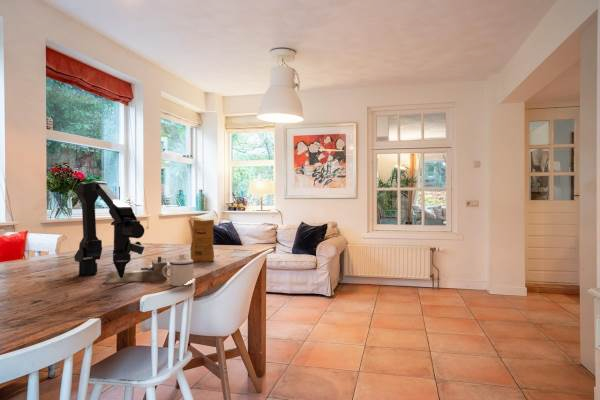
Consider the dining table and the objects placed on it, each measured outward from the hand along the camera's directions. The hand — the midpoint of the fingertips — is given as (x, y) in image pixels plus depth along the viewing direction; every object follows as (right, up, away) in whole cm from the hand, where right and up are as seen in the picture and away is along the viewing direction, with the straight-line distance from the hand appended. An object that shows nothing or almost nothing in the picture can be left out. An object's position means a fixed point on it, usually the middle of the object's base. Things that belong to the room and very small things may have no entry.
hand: (121, 275), depth 157 cm
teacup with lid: (+24, -3, -4) cm, 25 cm away
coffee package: (+20, -2, +52) cm, 55 cm away
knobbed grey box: (+11, -2, +5) cm, 12 cm away
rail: (+2, -2, +1) cm, 3 cm away
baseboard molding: (+4, -3, +27) cm, 27 cm away
